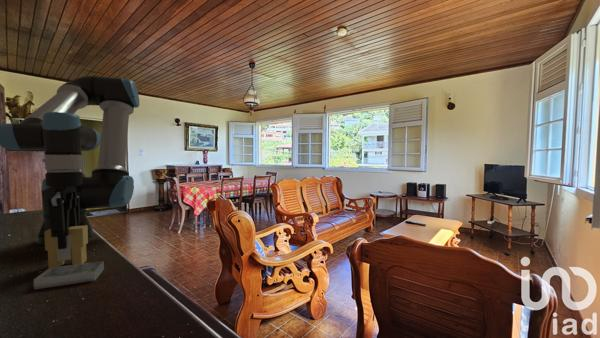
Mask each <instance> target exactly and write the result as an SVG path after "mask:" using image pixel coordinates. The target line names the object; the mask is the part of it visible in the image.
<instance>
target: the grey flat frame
mask: <svg viewBox="0 0 600 338" xmlns="http://www.w3.org/2000/svg"><path fill="white" fill-rule="evenodd" d="M104 269H105V261H104V260H100V261H92V262H84V263H83V264H75V265H72V264H68V265H62V266H59V267H51V268H49V267H47V269H46V270H44V271H43V272H42V273H41V274H39V275H38V276H37V277H35V278H34V279H33V290H40V289H46V288H53V287H60V286H67V285H73V284H81V283H87V282H94V281H96V280H97V278H98V277H99V276H100V275H101V273H102V272H103V271H104Z"/></svg>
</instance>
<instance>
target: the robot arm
mask: <svg viewBox="0 0 600 338" xmlns="http://www.w3.org/2000/svg"><path fill="white" fill-rule="evenodd" d="M87 106H99V108H100V109H101V110H102V112H103V113H102V123H101V132H100V133H101V134H100V133H99V132H98V130H96V129H95V128H92V127H91V126H87V125H83V124H82V123H81V118H80V116H79V115H77V114H75V113H76V112H77V111H78V110H81V109H84V108H86V107H87ZM139 107H140V97H139V91H138V88H137V85H136V83H135V81H133V80H132V79H130V78H123V77H111V76H97V75H84V76H79V77H77V78H74V79H70V80H69V81H67V82H65V83H63V84H62V85H61V86H59V87H58V88H57V90H56V93H55V95H53V96H52V97H51V98H49V99H48V100H46V101H45V102H44V103H43V104H41V105H40V106H39V107H37V108H36V109H35V110H34V111H33V112H32V113H30V114H29V115H28V116H26V117H25V118H23V120H21V121H20V122H19V123H15V122H11V123H3V124H0V147H1V148H2V149H5V150H9V151H11V150H14V151H44V152H43V153H44V154H43V155H44V158H42V162H43V163H44V170H45V171H47V172H46V173H45V174H44V177H45V178H44V179H43V180H41V181H42V182H41V190H40V193H41V202H42V203H41V206H42V223H41V225H40V227H39V231H38V233H37V235H36V244H38V245H40V246H45V234H44V232H45V231H47V230H49V229H51V237H56V241H57V261H63V260H64V261H70V260H71V261H72V248H71V235H68V234H69V227H72V226H80V222H82V223H83V224H85V225H87V226H88V239H89V238H91V237H92V236H93V235H94V230H93V226H92V224H91V223H90V221H89V218H88V216H87V210H89V209H106V208H109V209H110V208H111V209H115V208H120V207H125V206H127V205H128V204H129V203H130V202H131V200H132V197H133V195H134V189H135V185H134V184H135V182H134V178H133V177H132V176H130V173H129V171H128V170H127V169H126V160H127V159H126V158H127V146H128V132H129V120H130V119H129V118H130V115H132V114H133V113H134V111H135V110H134V109H137V108H139ZM97 148H99V152H98V158H97V159H98V161H97V167H95V168H94V169H92V170H91V176H86V175H85V173H83V172H82V171H81V170H83V154H82V152H85V151H86V152H89V151H93V150H96V149H97Z"/></svg>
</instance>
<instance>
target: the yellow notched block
mask: <svg viewBox="0 0 600 338" xmlns="http://www.w3.org/2000/svg"><path fill="white" fill-rule="evenodd" d="M44 234H45V245H44V250H45V251H47V259H48V260H47V262H48V263H47V264H48V268H51V267H59V266H64V264H65V260H63V261H57V241H56V237H51V229H49V230H47V231H45V232H44ZM68 235H71V248H72V255H71V257H72V259H71V262H72V264H71V265H75V264H83V263H86V262H87V261H88V259H87V255H88V254H87V244H88V243H89V238H88V226H87V225H84V226H72V227H69V234H68Z"/></svg>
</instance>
